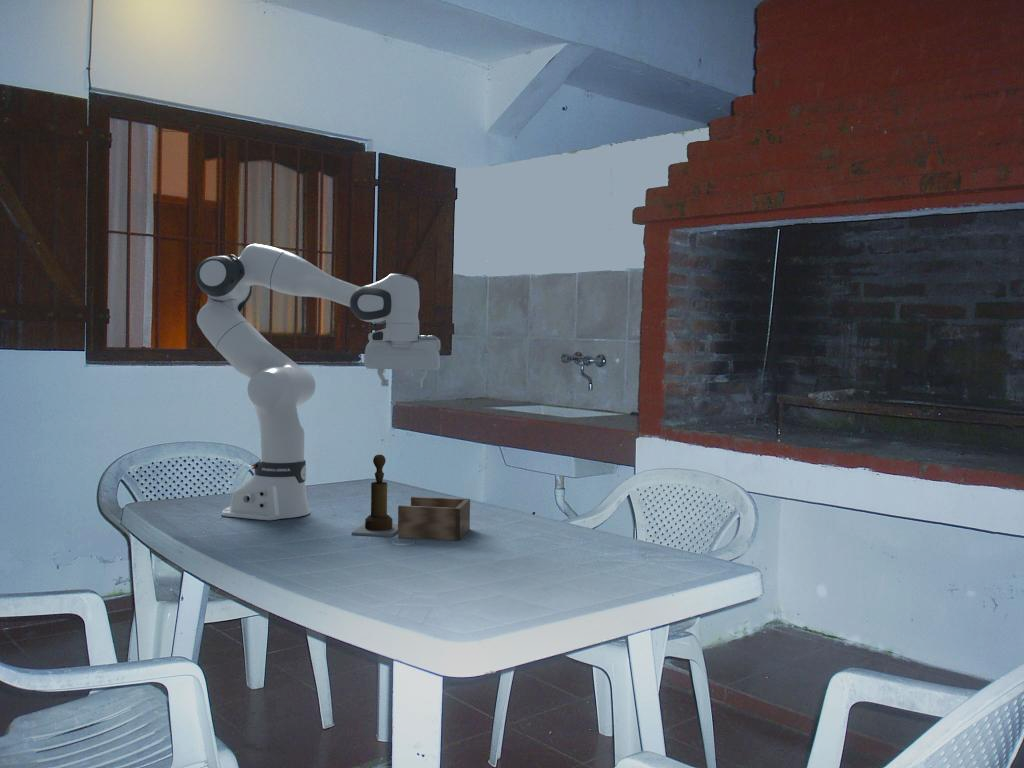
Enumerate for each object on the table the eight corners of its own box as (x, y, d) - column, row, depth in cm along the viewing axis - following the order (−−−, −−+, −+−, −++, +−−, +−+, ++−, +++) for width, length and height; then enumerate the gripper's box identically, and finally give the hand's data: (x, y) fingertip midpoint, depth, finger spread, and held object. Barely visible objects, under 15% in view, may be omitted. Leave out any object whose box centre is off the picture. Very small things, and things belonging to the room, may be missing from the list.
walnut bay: (397, 537, 209) (398, 506, 208) (411, 526, 222) (411, 496, 221) (459, 540, 207) (459, 508, 206) (469, 528, 220) (470, 499, 219)
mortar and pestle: (395, 525, 219) (395, 453, 218) (388, 531, 213) (389, 457, 212) (368, 524, 220) (369, 452, 219) (361, 530, 213) (362, 456, 212)
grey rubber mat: (351, 534, 211) (351, 532, 211) (366, 524, 223) (366, 522, 223) (392, 536, 209) (392, 534, 209) (405, 526, 221) (405, 523, 221)
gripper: (443, 335, 237) (442, 387, 238) (369, 334, 240) (369, 385, 241) (438, 335, 231) (437, 388, 232) (362, 334, 234) (362, 386, 234)
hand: (402, 386), depth 236 cm, fingers open, 8 cm apart
